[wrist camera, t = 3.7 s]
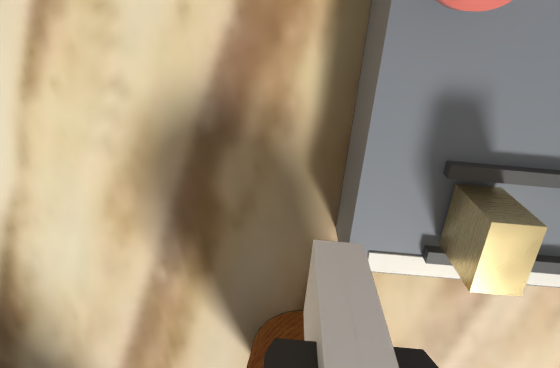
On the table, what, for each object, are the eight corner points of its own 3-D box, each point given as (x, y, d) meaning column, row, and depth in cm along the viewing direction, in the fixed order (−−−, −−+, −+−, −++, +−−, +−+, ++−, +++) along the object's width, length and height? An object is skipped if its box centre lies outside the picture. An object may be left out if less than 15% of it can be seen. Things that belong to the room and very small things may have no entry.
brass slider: (439, 244, 19) (469, 291, 16) (455, 183, 18) (491, 222, 15) (482, 247, 19) (521, 296, 16) (501, 187, 18) (547, 227, 15)
